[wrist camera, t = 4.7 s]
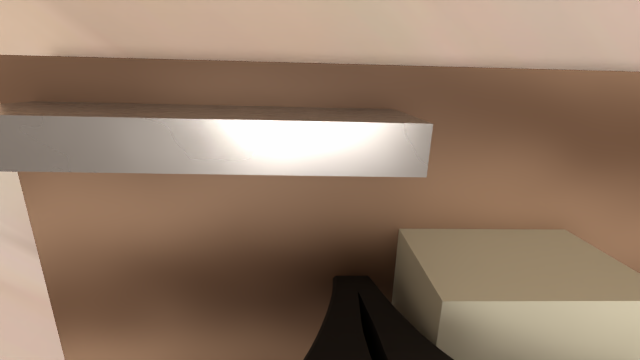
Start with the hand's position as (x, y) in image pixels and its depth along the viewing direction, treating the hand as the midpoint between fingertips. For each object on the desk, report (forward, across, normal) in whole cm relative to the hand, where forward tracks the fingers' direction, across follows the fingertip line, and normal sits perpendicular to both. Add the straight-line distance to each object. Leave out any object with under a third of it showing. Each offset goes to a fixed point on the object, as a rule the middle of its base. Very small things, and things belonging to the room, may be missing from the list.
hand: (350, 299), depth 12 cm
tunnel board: (+3, -5, 0) cm, 5 cm away
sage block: (0, -5, 0) cm, 5 cm away
